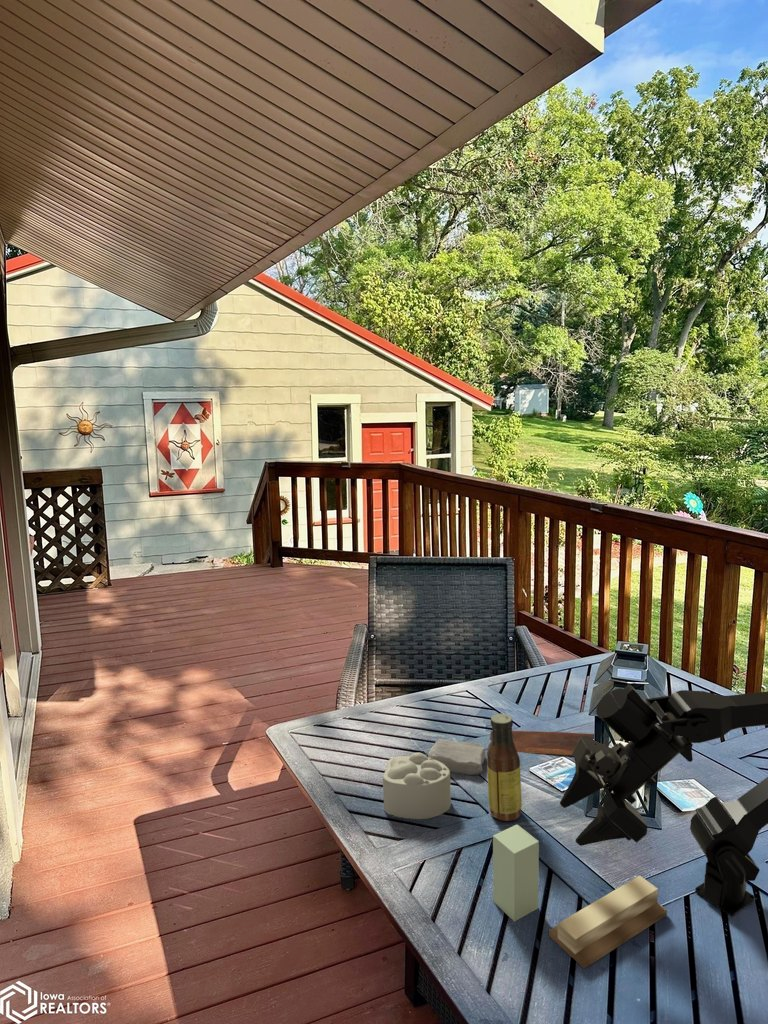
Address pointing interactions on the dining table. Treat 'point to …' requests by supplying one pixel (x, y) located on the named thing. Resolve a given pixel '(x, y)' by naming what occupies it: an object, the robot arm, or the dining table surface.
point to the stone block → (459, 756)
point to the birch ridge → (609, 921)
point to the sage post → (515, 872)
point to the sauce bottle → (503, 771)
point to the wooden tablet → (546, 742)
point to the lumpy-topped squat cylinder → (416, 787)
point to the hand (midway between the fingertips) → (569, 823)
